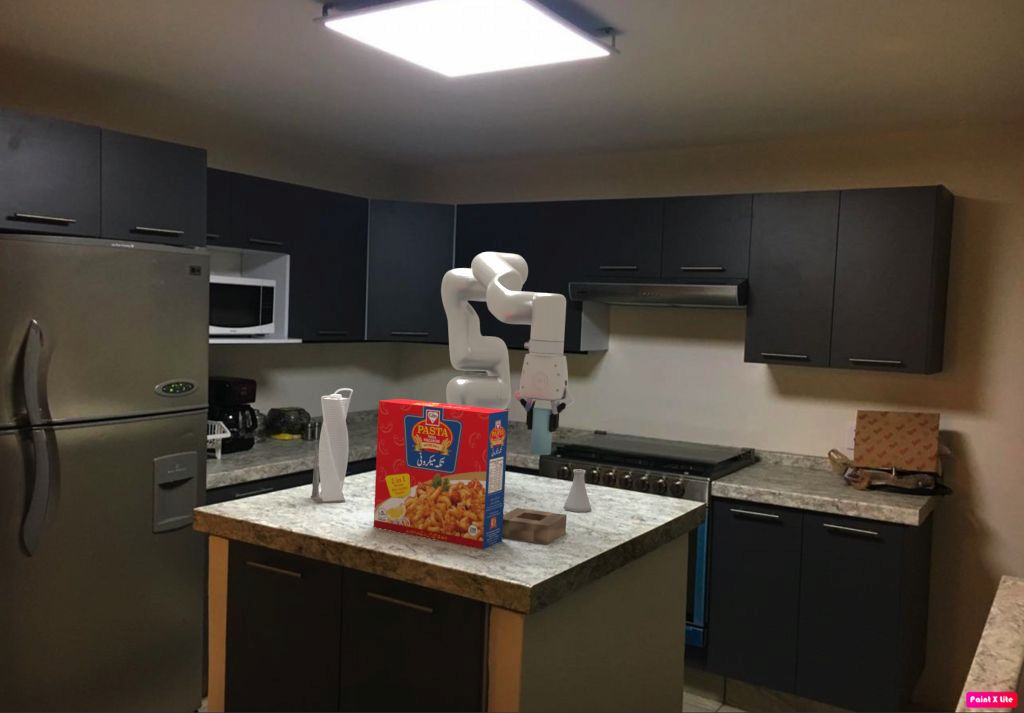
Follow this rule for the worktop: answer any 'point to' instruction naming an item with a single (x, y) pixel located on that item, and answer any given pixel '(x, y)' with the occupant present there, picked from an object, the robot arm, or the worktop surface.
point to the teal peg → (541, 432)
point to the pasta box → (441, 471)
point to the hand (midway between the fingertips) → (542, 429)
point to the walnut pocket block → (533, 525)
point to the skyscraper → (332, 450)
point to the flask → (578, 494)
